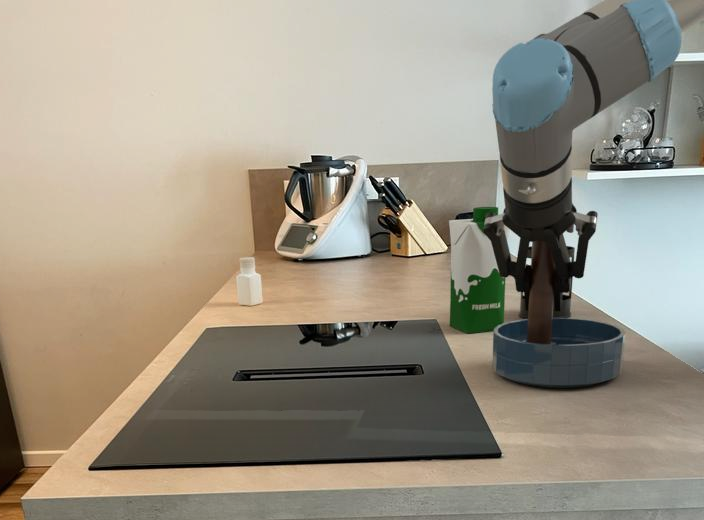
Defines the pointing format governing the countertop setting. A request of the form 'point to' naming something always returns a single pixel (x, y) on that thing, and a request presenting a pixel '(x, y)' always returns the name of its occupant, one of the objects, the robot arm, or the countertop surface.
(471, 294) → the milk carton
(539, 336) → the brown wooden cylinder
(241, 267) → the pepper shaker
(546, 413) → the countertop surface
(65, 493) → the countertop surface
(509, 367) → the bowl
